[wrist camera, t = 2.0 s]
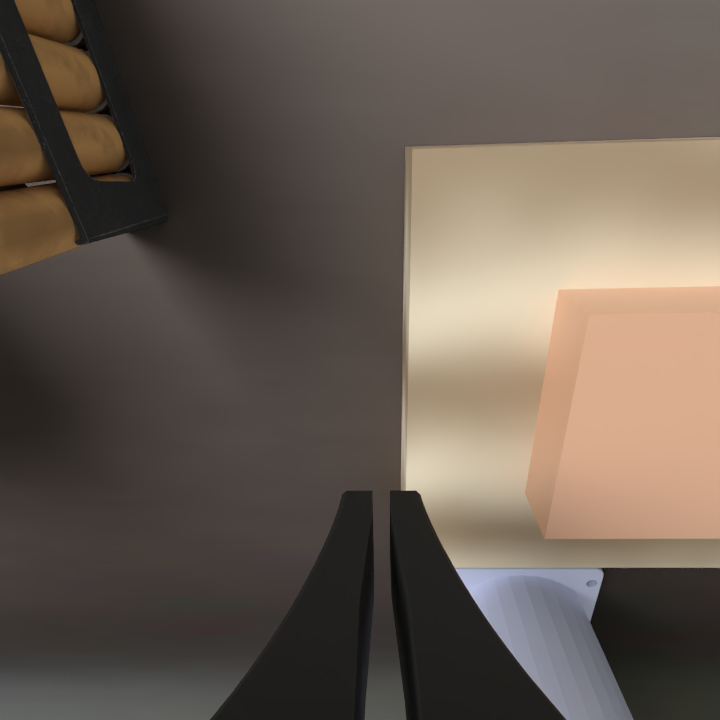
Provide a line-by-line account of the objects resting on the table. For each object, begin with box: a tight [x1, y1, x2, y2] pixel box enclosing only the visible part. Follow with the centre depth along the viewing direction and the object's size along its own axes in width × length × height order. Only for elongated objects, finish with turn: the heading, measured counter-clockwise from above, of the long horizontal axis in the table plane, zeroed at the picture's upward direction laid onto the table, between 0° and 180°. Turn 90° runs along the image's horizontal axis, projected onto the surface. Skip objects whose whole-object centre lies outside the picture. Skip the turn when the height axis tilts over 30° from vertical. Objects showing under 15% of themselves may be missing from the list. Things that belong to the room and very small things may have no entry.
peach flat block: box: [525, 286, 720, 539], centre depth 15 cm, size 8×8×2 cm
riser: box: [401, 137, 720, 568], centre depth 17 cm, size 16×14×3 cm
